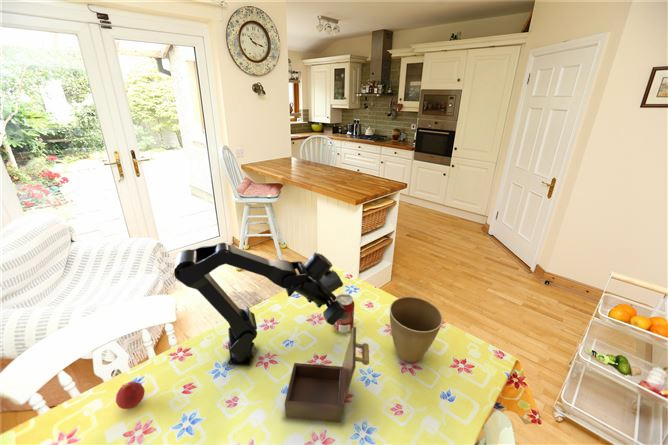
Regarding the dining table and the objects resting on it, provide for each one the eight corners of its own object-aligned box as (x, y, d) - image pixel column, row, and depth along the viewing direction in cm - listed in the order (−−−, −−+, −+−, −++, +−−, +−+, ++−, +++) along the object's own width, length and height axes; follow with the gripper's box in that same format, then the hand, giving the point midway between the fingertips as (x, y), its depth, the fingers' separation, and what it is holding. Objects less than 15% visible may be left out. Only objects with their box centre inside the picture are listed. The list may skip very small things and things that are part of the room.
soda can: (351, 335, 96) (353, 307, 91) (331, 332, 97) (332, 304, 92) (354, 321, 102) (356, 294, 97) (335, 318, 103) (336, 291, 99)
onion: (142, 390, 78) (134, 368, 74) (151, 403, 74) (143, 382, 71) (117, 406, 74) (107, 384, 70) (125, 421, 70) (115, 399, 67)
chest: (285, 417, 72) (284, 403, 70) (295, 376, 82) (294, 362, 80) (340, 422, 71) (341, 408, 69) (342, 379, 81) (343, 366, 79)
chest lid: (352, 366, 63) (371, 370, 63) (353, 326, 73) (369, 330, 73) (339, 407, 68) (357, 410, 68) (342, 365, 79) (357, 368, 79)
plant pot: (414, 383, 81) (422, 340, 74) (375, 349, 91) (379, 309, 85) (443, 355, 89) (453, 315, 83) (404, 328, 100) (410, 290, 93)
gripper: (339, 286, 79) (372, 307, 88) (316, 254, 95) (346, 275, 104) (312, 316, 80) (347, 334, 88) (294, 279, 96) (325, 298, 104)
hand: (341, 308), depth 96 cm, fingers open, 9 cm apart
